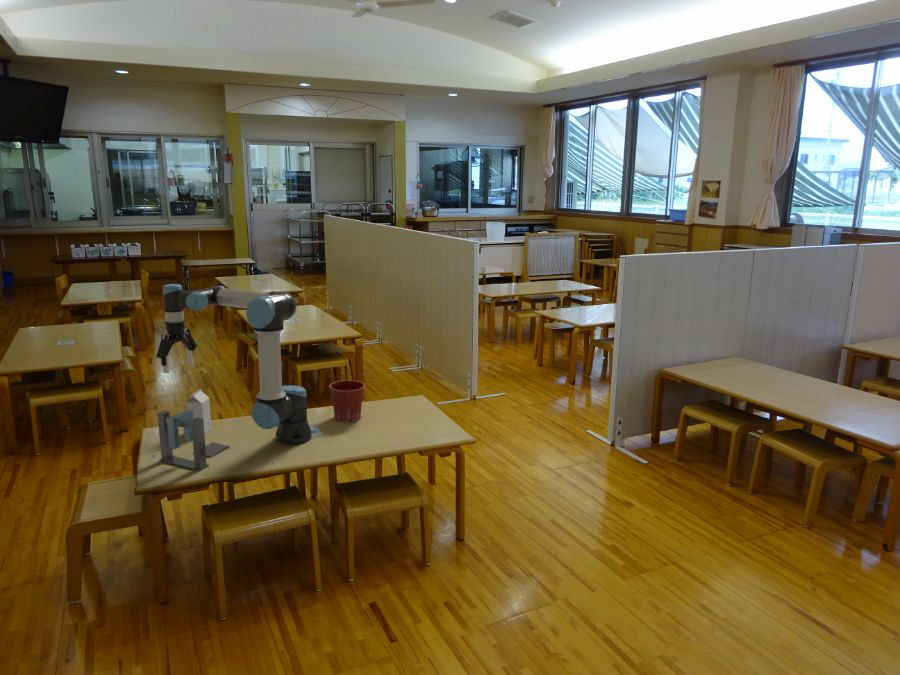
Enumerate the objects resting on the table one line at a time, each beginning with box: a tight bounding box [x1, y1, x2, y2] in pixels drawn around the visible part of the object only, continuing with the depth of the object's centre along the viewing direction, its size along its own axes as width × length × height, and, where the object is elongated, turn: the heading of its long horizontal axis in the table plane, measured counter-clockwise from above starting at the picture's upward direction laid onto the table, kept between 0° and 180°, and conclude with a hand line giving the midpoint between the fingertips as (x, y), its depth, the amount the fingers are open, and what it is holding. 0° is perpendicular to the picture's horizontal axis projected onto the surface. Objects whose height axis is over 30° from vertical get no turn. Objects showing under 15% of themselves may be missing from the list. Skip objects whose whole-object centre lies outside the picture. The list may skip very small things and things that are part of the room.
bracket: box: [167, 409, 193, 450], centre depth 248 cm, size 10×3×12 cm, turn 157°
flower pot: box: [328, 379, 366, 422], centre depth 301 cm, size 16×16×16 cm
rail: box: [157, 410, 210, 472], centre depth 249 cm, size 20×5×20 cm, turn 67°
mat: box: [192, 442, 231, 458], centre depth 264 cm, size 9×11×1 cm
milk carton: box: [185, 388, 212, 435], centre depth 279 cm, size 7×7×19 cm
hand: (178, 368), depth 278 cm, fingers open, 13 cm apart
